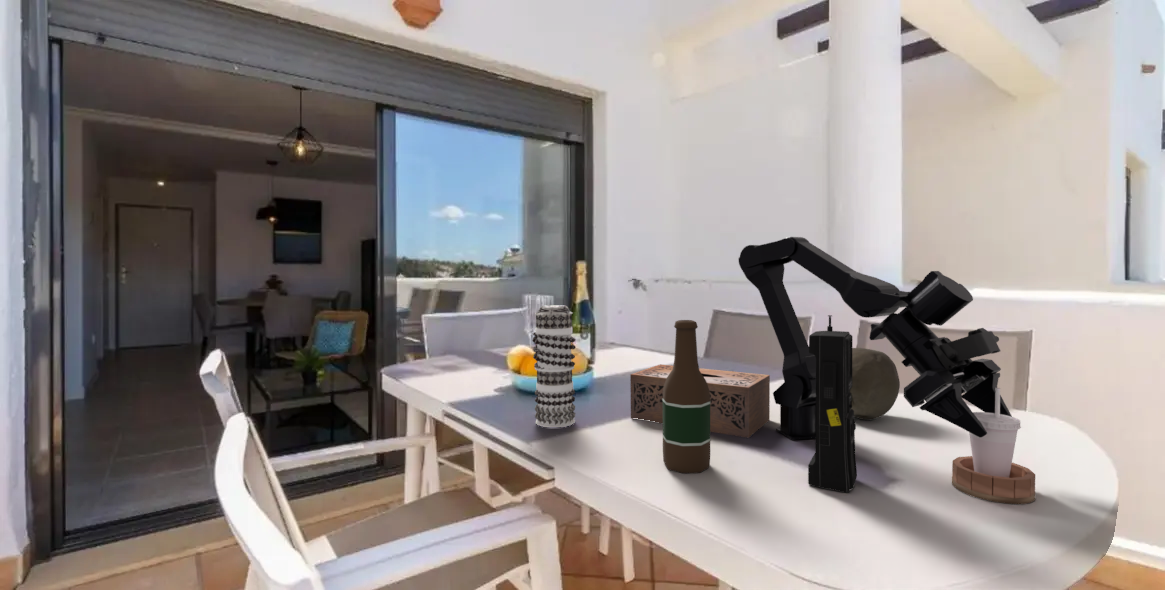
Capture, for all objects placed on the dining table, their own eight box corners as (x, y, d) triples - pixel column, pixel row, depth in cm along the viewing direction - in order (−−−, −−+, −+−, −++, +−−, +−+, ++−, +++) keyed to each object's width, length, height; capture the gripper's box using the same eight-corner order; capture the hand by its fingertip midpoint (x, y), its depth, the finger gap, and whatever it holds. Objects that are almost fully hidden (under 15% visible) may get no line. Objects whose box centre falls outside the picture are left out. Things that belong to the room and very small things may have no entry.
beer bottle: (712, 460, 91) (712, 319, 90) (707, 476, 84) (707, 323, 83) (666, 455, 94) (666, 318, 93) (658, 471, 86) (657, 322, 85)
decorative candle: (524, 424, 113) (522, 306, 112) (551, 414, 121) (550, 304, 120) (559, 431, 108) (557, 307, 107) (585, 420, 116) (583, 305, 115)
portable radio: (852, 497, 76) (854, 320, 74) (806, 488, 79) (807, 318, 78) (857, 478, 82) (859, 316, 81) (815, 471, 85) (816, 314, 84)
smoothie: (1018, 496, 73) (1020, 394, 73) (961, 484, 78) (963, 388, 77) (1020, 482, 78) (1022, 386, 78) (966, 472, 82) (968, 381, 82)
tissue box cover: (630, 419, 117) (630, 374, 117) (660, 405, 129) (659, 364, 129) (748, 439, 103) (748, 387, 102) (769, 421, 115) (769, 375, 114)
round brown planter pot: (992, 506, 72) (993, 482, 72) (935, 479, 82) (936, 458, 81) (1054, 501, 74) (1054, 477, 73) (991, 475, 83) (991, 454, 83)
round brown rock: (915, 426, 109) (916, 352, 108) (845, 426, 109) (846, 353, 109) (878, 408, 123) (879, 343, 122) (816, 409, 123) (816, 344, 123)
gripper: (927, 314, 75) (1021, 409, 67) (987, 308, 85) (1075, 389, 77) (871, 362, 82) (949, 453, 74) (932, 351, 92) (1007, 430, 84)
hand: (998, 430), depth 77 cm, fingers open, 9 cm apart
